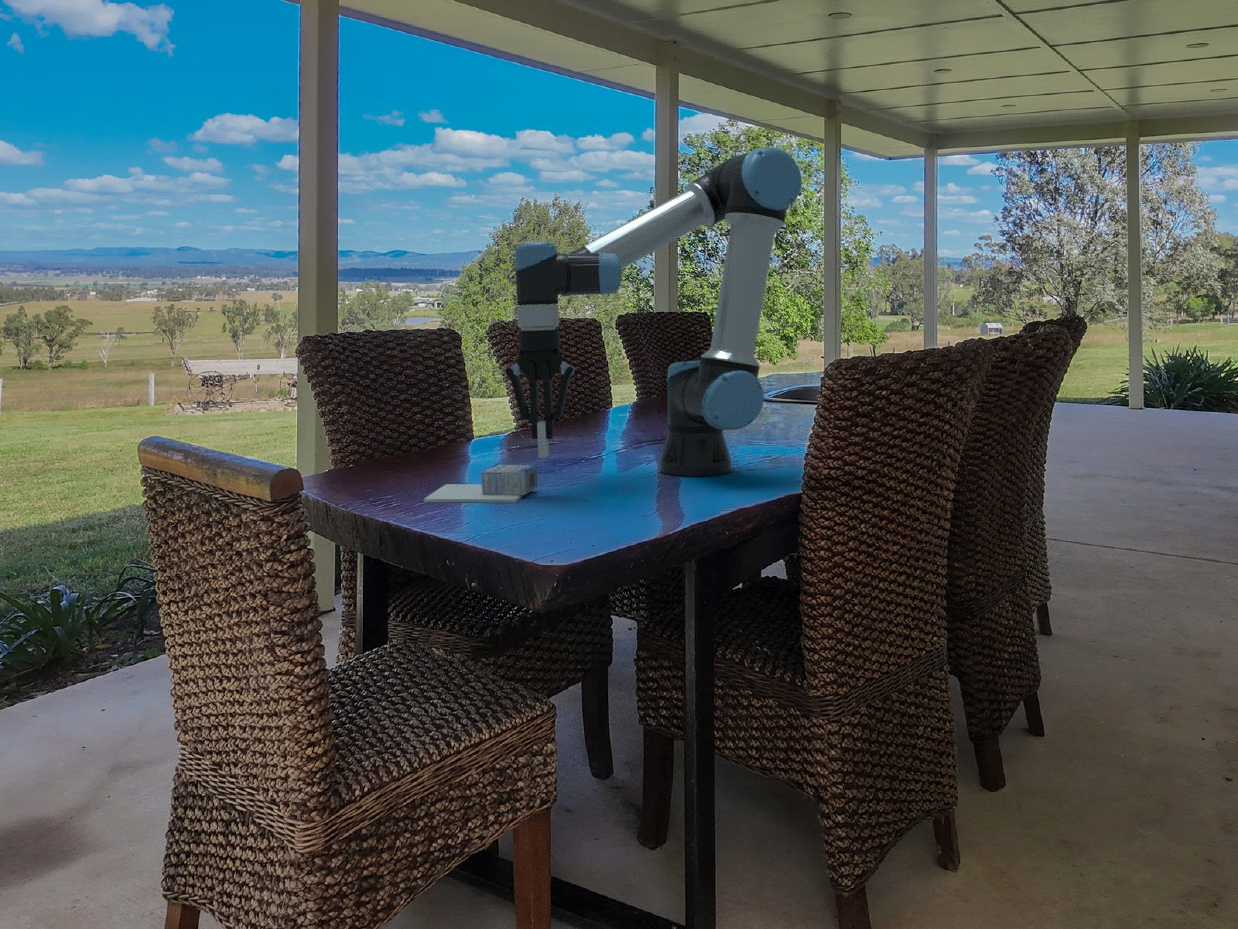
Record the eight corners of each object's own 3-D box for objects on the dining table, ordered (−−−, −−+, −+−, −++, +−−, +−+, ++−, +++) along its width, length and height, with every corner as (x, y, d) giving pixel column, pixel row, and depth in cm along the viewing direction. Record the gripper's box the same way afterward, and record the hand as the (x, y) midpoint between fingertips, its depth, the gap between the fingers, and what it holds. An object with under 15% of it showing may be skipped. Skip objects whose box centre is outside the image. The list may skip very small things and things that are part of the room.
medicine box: (526, 471, 186) (480, 470, 188) (526, 495, 187) (481, 494, 188) (537, 465, 194) (493, 464, 195) (537, 488, 195) (494, 486, 196)
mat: (531, 487, 198) (531, 484, 198) (515, 502, 183) (515, 499, 183) (445, 487, 200) (445, 484, 200) (424, 502, 185) (423, 499, 185)
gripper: (576, 327, 189) (581, 452, 192) (507, 329, 190) (513, 453, 194) (570, 328, 181) (575, 459, 185) (499, 330, 183) (505, 460, 186)
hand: (543, 456), depth 189 cm, fingers closed
